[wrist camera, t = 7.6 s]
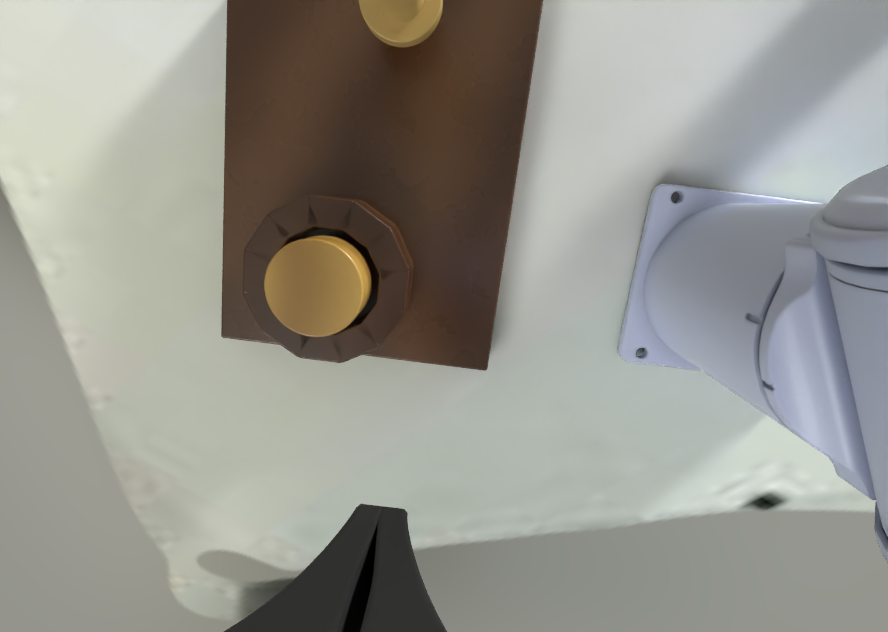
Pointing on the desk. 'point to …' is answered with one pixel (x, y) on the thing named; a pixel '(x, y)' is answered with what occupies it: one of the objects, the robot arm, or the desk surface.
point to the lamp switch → (317, 285)
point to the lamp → (401, 20)
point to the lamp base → (376, 168)
